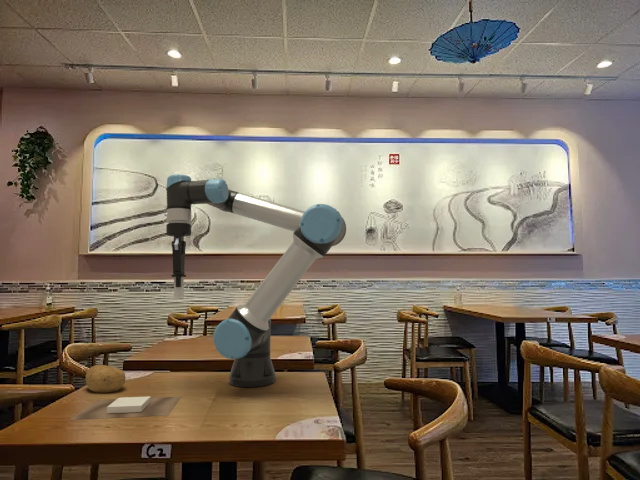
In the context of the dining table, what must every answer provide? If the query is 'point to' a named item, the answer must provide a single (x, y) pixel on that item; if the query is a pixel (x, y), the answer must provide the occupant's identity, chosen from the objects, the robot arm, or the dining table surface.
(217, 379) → the dining table surface
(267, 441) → the dining table surface
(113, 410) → the tile
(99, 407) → the board
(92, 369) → the potato
